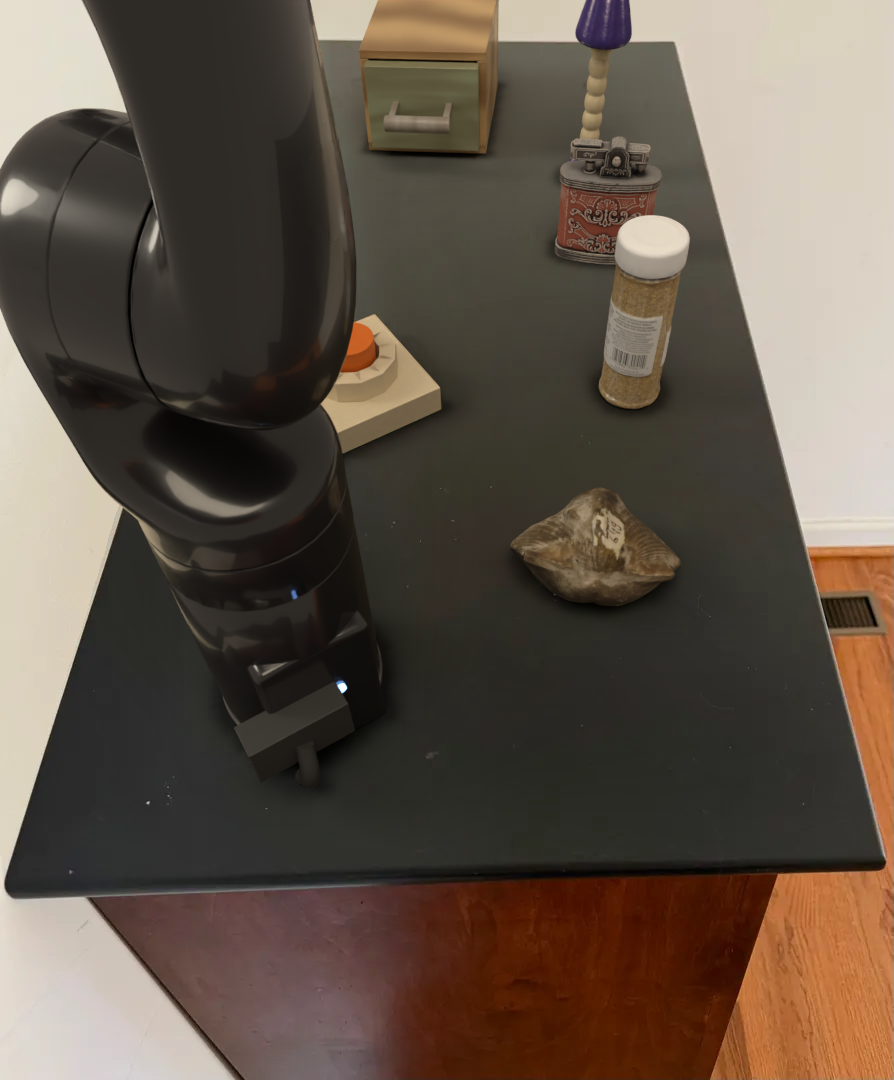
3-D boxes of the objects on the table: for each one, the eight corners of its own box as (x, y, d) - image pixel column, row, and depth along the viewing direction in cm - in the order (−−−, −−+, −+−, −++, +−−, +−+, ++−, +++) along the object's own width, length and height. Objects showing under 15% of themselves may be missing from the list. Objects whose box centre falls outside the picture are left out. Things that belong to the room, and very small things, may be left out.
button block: (441, 409, 67) (439, 368, 64) (333, 458, 65) (325, 418, 61) (377, 335, 73) (372, 294, 69) (275, 378, 70) (265, 337, 67)
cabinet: (485, 153, 89) (486, 52, 81) (369, 150, 90) (358, 49, 82) (497, 86, 97) (498, -12, 89) (390, 83, 98) (382, -14, 90)
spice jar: (670, 387, 68) (705, 229, 57) (636, 421, 66) (665, 263, 55) (619, 361, 70) (643, 203, 59) (584, 393, 68) (603, 235, 57)
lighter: (649, 244, 79) (667, 132, 71) (647, 267, 77) (666, 155, 69) (556, 237, 80) (564, 127, 72) (552, 260, 78) (560, 149, 70)
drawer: (474, 175, 85) (473, 91, 79) (364, 171, 86) (355, 88, 80) (490, 88, 95) (490, 8, 89) (392, 85, 96) (385, 6, 90)
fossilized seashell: (489, 580, 55) (644, 652, 53) (529, 484, 52) (694, 557, 50) (518, 539, 61) (656, 601, 60) (554, 451, 59) (700, 515, 57)
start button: (384, 361, 65) (382, 343, 64) (340, 380, 64) (337, 361, 63) (361, 334, 67) (358, 315, 66) (317, 352, 66) (314, 333, 65)
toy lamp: (609, 163, 87) (632, -30, 74) (617, 190, 84) (642, -5, 71) (559, 166, 87) (573, -26, 74) (566, 193, 84) (581, -2, 71)
